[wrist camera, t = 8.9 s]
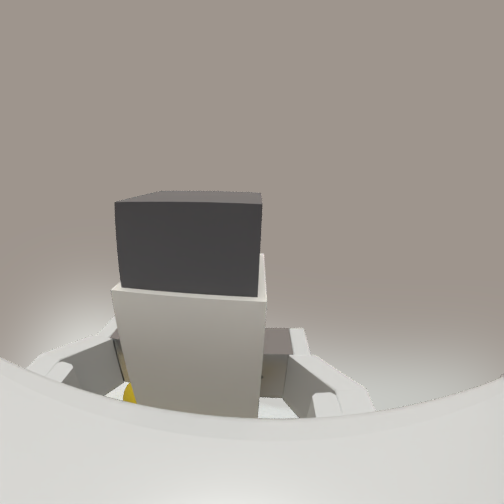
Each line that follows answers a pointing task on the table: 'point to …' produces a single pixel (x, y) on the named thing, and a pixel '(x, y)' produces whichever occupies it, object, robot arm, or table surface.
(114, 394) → the table surface
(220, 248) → the plug
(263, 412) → the table surface
